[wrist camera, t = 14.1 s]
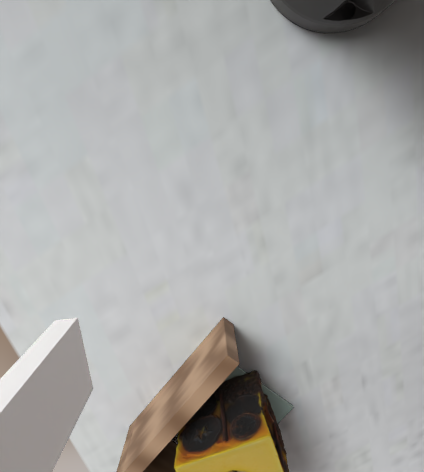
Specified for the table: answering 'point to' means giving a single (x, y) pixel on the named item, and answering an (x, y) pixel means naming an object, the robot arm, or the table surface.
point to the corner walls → (179, 403)
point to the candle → (232, 432)
